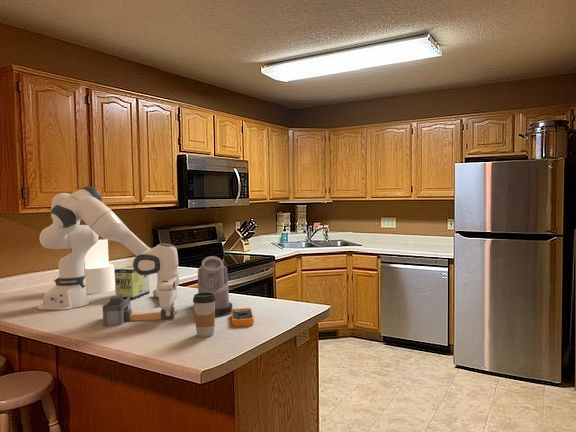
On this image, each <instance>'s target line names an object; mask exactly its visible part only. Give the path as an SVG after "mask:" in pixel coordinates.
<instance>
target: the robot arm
mask: <svg viewBox="0 0 576 432" xmlns="http://www.w3.org/2000/svg"><path fill="white" fill-rule="evenodd" d="M102 201H103V198H102V195H101V193H100V191H99V190H97V188H95V187H94V186H91V185H85V186H83V187H81V188H79V189H78V190H76V191H74V192H72V193H71V194H70V193H67V192H60V193H57V194H56V195H55V196H54V197H53V198H52V200H51V210H50V212H49V213H50V218H51V219H52V224H50V225H49V226H47V227H45V228H43V229H42V230H41V232H40V234H39V242H40V244H41V246H42V247H43V248H45V249H50V250H51V249H52V250H60V249H61V250H62V249H72V250H71V252H70V253H69V254H67V255H65V256H64V257H62V258H60V260H59V262H58V277H57V278H55V279H53V281H54V282H53V283H55V285H54V286H53V287H52V288H50V289H49V290H48V291H47V292H46V293H45V294H44V295H43V298H42V303H41V304H39V305H38V306H37V310H40V311H42V310H44V311H45V310H47V311H48V310H50V311H51V310H52V311H53V310H56V311H58V310H60V311H61V310H62V311H64V310H65V311H66V310H70V309H71V310H72V309H75V308H79V307H84V306H87V305H89V304H90V301H89V298H88V294H87V293H86V288H85V286H86V278H85V275H84V260H85V256H86V254H87V252H88V251H89V249H90V248H91V247H92V246H94V245H95V244H96V243H97V241H98V240H99V237H101V238H102V239H103V240H104V239H107V240H108V241H114V242H117V243H120V244H122V245H123V246H125V247H126V248H127V249H128V250H129V251H130V252H131V253H132V254H134V255H135V258H134V259H133V262H132V265H133V268H134V270H135V271H136V273H138V274H139V275H149V276H150V275H153V274H156V277H157V282H156V283H157V284H156V289H157V290H159V291H158V295H159V297H158V301H159V302H158V303H159V307H160V309H162V308H165V311H166V316H170V315H171V311H170V307H175V306H174V305H175V304H174V303H175V301H176V300H177V298H178V286H179V285H180V276H179V275H180V274H179V257H178V256H179V255H178V249H177V247H176V245H174V244H172V243H163V242H161V243H157V245H156V246H154V247H150V246H149V245H147V244H146V243H145V242H144V241H143V240H142V239H140V238H139V237H138V235H136V234H135V233H134V232H133V231H131V230H130V229H129V228H128V226H127V225H126V224H125V223H124V222H123V221H122V220H121V219H120V217H119V216H117V214H116V213H115V212H114V211H112V209H111V208H110V207H108V205H106V204H105V203H103V202H102ZM81 221H83V222H84V223H85V224H80V223H81Z"/></svg>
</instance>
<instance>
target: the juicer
mask: <svg viewBox="0 0 576 432" xmlns="http://www.w3.org/2000/svg"><path fill="white" fill-rule="evenodd" d="M197 291H198V293H206V292H208V293H214V296H215V319H216V318H222V317H227V316H232V313H231V310H232V309H233V303H232V302H230V296H229V295H230V294H229V278H228V268H227V266H225V265H224V262H223V260H222V259H221V258H220V257H218V256H214V255H211V256H207V257H205V258H204V259H203V260H201V266H199V267H198V269H197ZM198 293H197V294H198Z"/></svg>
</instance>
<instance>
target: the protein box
mask: <svg viewBox="0 0 576 432" xmlns="http://www.w3.org/2000/svg"><path fill="white" fill-rule="evenodd" d="M114 277H115V290H114V291H115V296H120V295H123V299H124V300H126V299H127V298H128V297H130V301H134V300H137V299H139V298H142V297H145V296H147V295H149V293H151V292H150V275H139V274H138V273H136V271H135V270H134V268H133V264H130V265H126V266H123V267H119V268H114ZM144 295H145V296H144ZM141 296H142V297H141ZM136 298H137V299H136Z"/></svg>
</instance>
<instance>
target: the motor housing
mask: <svg viewBox="0 0 576 432" xmlns="http://www.w3.org/2000/svg"><path fill="white" fill-rule="evenodd" d="M128 309H132V307H131V300H130V297H128V298H127V299H126V300H123V295H120V296H116V295H113V296H111V297H110V298H109V301H108V302H106V303H105V304H104V305H103V306H102V320H103V321H102V323H103V324H102V325H103V326H104V327H106V326H112V325H113V326H115V325H118V326H121V325H123V324H124V322H125V321H124V313H123V310H128Z"/></svg>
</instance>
